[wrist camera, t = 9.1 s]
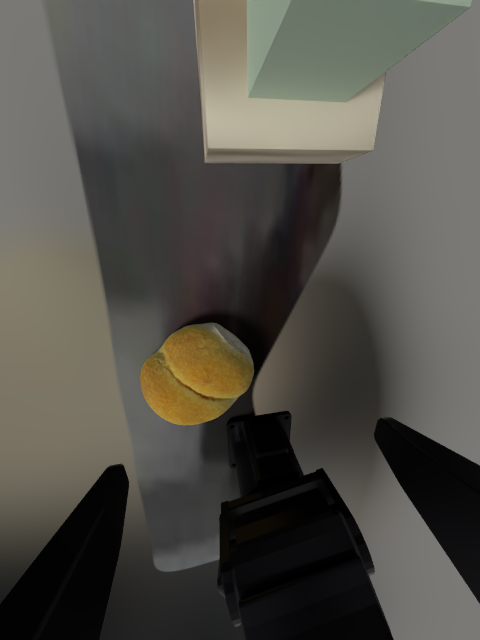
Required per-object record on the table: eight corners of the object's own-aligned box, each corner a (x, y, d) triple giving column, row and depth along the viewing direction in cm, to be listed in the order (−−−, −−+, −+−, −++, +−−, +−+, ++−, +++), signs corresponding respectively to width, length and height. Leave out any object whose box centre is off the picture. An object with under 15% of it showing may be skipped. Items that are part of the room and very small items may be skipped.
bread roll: (126, 378, 20) (111, 414, 16) (196, 302, 19) (196, 322, 15) (201, 421, 23) (202, 458, 20) (266, 359, 22) (280, 387, 18)
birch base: (338, 163, 16) (373, 150, 13) (205, 163, 15) (208, 148, 12) (361, -37, 13) (417, -122, 10) (188, -61, 11) (187, -169, 8)
